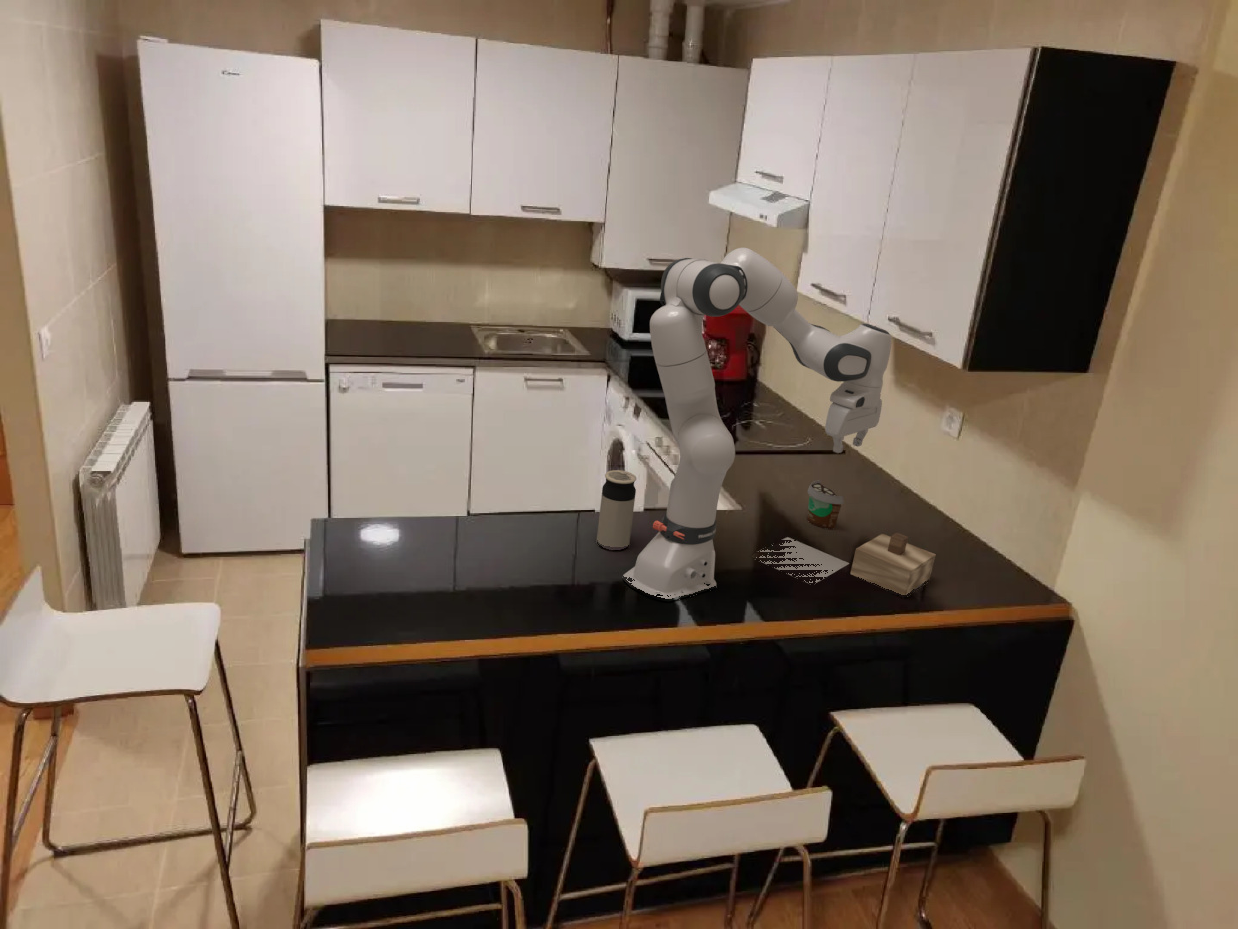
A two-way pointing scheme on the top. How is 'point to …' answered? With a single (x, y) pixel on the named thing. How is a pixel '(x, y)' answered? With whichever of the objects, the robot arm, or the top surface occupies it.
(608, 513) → the travel mug
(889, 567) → the tan block
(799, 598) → the top surface
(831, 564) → the white paper sheet
